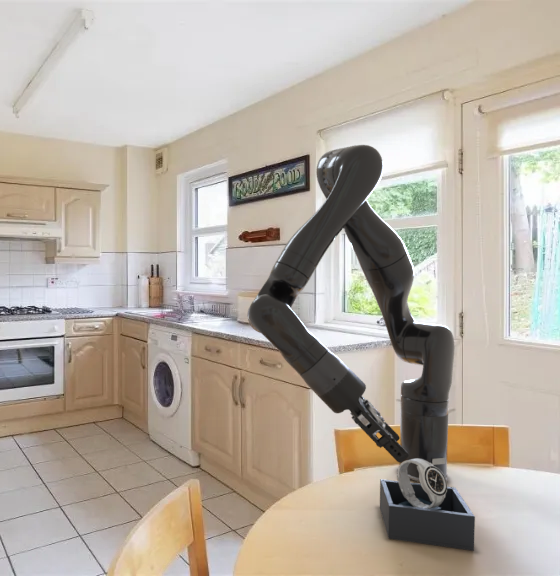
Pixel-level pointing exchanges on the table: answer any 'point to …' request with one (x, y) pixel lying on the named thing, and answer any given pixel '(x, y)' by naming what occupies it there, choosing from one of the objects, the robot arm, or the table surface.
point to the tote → (427, 518)
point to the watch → (422, 484)
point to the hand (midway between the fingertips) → (399, 449)
